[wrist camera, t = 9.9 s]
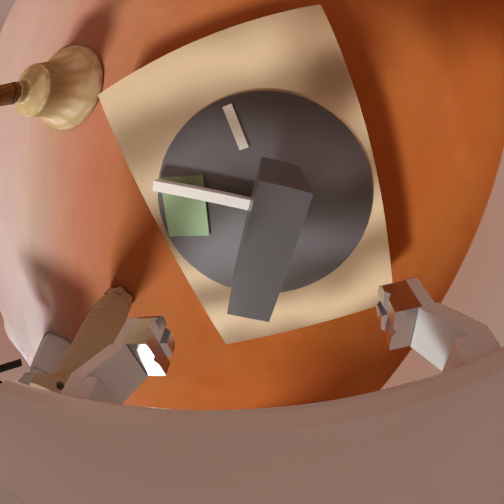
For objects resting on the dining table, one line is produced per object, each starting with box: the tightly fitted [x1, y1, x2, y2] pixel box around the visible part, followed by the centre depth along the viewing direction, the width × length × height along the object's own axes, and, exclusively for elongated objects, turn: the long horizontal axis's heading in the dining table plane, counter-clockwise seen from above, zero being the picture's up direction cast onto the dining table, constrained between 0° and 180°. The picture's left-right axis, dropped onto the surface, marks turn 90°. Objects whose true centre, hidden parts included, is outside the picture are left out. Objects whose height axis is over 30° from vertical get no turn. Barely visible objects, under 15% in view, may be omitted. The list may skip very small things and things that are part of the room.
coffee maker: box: [0, 332, 71, 386], centre depth 28 cm, size 15×9×18 cm, turn 32°
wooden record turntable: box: [98, 4, 392, 344], centre depth 21 cm, size 24×16×4 cm, turn 20°
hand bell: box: [0, 45, 103, 130], centre depth 11 cm, size 8×8×16 cm
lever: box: [153, 157, 313, 322], centre depth 15 cm, size 9×7×7 cm
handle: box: [30, 287, 132, 393], centre depth 23 cm, size 5×6×15 cm
